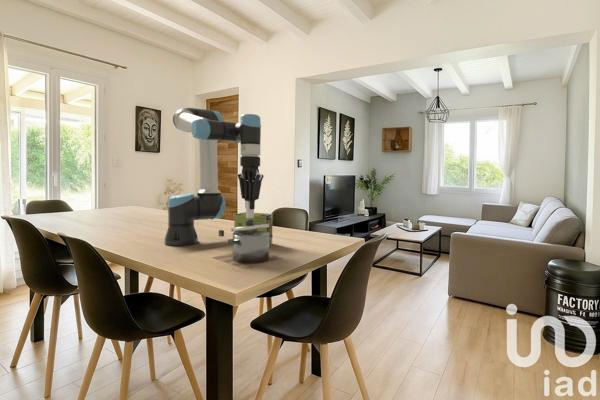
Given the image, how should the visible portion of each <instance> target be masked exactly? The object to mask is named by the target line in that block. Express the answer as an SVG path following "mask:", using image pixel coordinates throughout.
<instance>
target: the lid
mask: <svg viewBox="0 0 600 400" xmlns="http://www.w3.org/2000/svg"><path fill="white" fill-rule="evenodd" d="M245 221H246V226H243V227H236V228H234V227H230V231H231V232H234V231H243V230H252V229H260V228H266V227H269V224H261V225H254V222H253V220H245Z"/></svg>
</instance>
